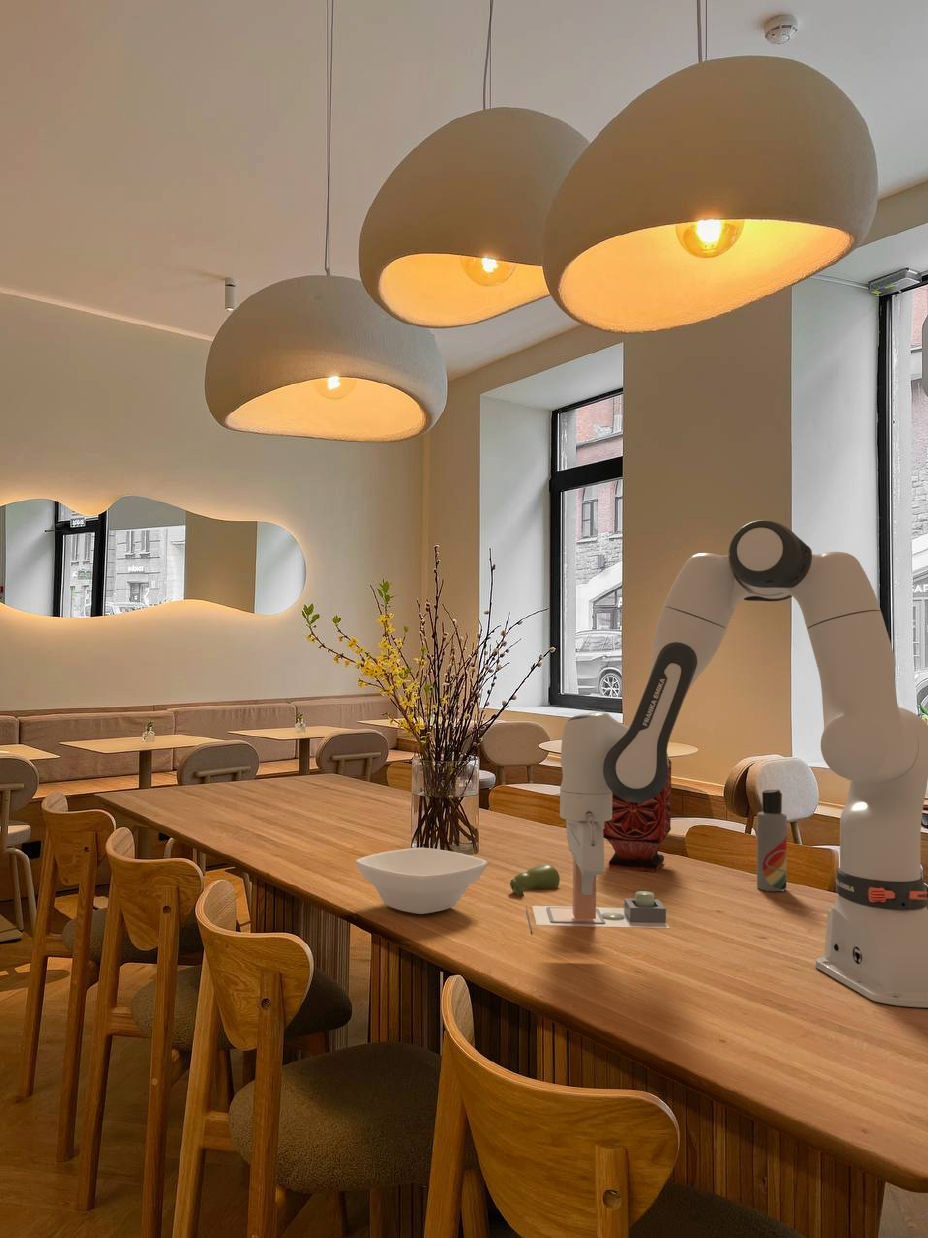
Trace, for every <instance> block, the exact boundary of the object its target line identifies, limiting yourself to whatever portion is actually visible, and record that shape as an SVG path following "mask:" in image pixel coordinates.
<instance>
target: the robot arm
mask: <svg viewBox="0 0 928 1238" xmlns="http://www.w3.org/2000/svg"><path fill="white" fill-rule="evenodd" d="M673 581H674V582H673V583H672V585H671V588H670V590H669V592H668V594H667V595H666V598H665V601H664V603H663V606H662V609H661V611H660V614H659V617H658V620H657V624H656V628H655V632H654V638H653V643H652V644H653V645H652V653H651V665H650V672H649V677H648V679H647V680H648V681H647V684H646V686H645V688H644V691H643V694H642V696H641V698H640V701H639V703H638V706H637V709H636V711H635V714H634V716H633V720H632V722H631V724H630V726H627V725H625V724H623V723H622V722H620V721H618V720H617V719H615V718H613V717H612V716H611V714H609V713H608V712H603V711H598V712H597V711H596V712H588V713H583V714H578V715H574V716H572V717H571V718H569V719H567V722H565V724H564V727H563V731H562V737H561V746H560V747H561V748H560V750H561V751H560V766H561V771H562V781H561V784H560V789H559V790H560V792H559V793H560V794H559V797H560V798H559V817H560V818H561V819H563V820H565V823H566V824H565V825H566V836H567V837H566V838H567V839H566V840H567V846H568V850H569V852H570V853H571V856H572V857H573V856H574V858H575V860H576V864H577V865H578V867H579V869H580V871H581V892H582V894H583V895H591V894H592V889H593V880H594V875H596V876H602V875H603V873H604V868H605V842H604V840H605V838H604V837H603V829H604V821H609V820H611V819H612V792H613V793H614V794H615V795H616V796H618V797H619V798H621V799H623V800H625V801H629V802H635V803H639V802H645V801H648V800H651V799H653V798H654V797H656V796H657V795H658V794H659V793H660V792H661V791H662V789H663V788H664V786H665V784H666V781H667V777H668V765H669V760H670V759H669V755H668V745H669V741H670V739H671V736H672V734H673V730H674V727H675V724H676V721H677V719H678V716H679V714H680V712H681V709H682V707H683V704H684V700H685V698H686V697H687V694H688V692H689V691H690V689H691V687H692V685H694V683H695V682H696V680H698V678H699V677H700V676H701V674H703V672H704V671H705V670H706V669H707V667H708V666H709V664H710V663H711V661H712V660H713V659H714V656H715V655H716V654H717V652H718V649H719V647H720V646H721V645H722V642H723V639H724V637H725V635H726V632H727V629H728V627H729V624H730V622H731V619H732V617H733V614H734V611H735V609H736V608H737V606H738V605H739V604H740V602H741V601H743V600H744V601H747V602H748V601H750V602H756V601H757V602H781V601H785V600H788V599H790V598H792V597H793V599H795V600H796V602H797V603H798V605H799V608H800V609H801V613H802V616H803V620H804V623H805V627H806V630H807V634H808V637H809V642H810V645H811V648H812V652H813V656H814V660H815V662H816V667H817V670H818V675H819V681H820V687H821V689H820V690H821V701H822V716H823V727H824V728H823V731H822V735H821V739H820V751H821V755H822V758H823V760H824V762H825V764H826V765H827V767H828V768H829V769H830V770H831V771H832V772H834V773H835V774H836V775H838V776H839V777H841V778H844V779H846V780H849V781H850V783H849V788H848V793H847V798H846V801H845V805H844V807H843V809H842V812H841V814H840V818H839V868H837V870H836V877H835V884H836V890H835V891H836V894H837V895H838V897H837V898H836V901H835V903H834V904H833V906H831V908H829V910H828V911H827V915H826V916H827V917H826V927H825V941H824V955H823V956H821V957H817V958H816V960H815V967H816V969H818V970H819V971H822V973H825V974H826V975H828V976H830V977H832V978H833V979H835V980H837V981H838V982H839V983H842V984H843V985H845V986H847V987H848V988H851V989H853V990H854V991H856V993H857V992H858V993H859V994H860V995H863V996H864V997H865V998H867V999H869V1000H871V1001H873V1002H877V1003H882V1004H887V1005H894V1006H898V1007H899V1006H900V1007H901V1006H902V1007H912V1008H928V896H927V895H928V891H927V887H926V886H925V880H924V878H923V877H922V876H921V873H922V872H921V868H922V867H921V866H922V865H921V863H922V862H921V858H922V857H921V852H922V851H921V849H922V847H921V846H922V845H921V844H922V843H921V842H922V841H921V840H922V836H921V833H922V831H921V829H922V819H923V810H924V806H925V800H926V795H927V794H926V793H927V788H928V723H927V721H925V720H924V719H923V718H922V717H920V716H919V715H918V714H916V713H915V712H913V711H911V710H909V709H906V708H903V707H900V706H899V704H898V697H897V691H896V682H895V681H896V679H895V678H896V677H895V673H896V672H895V669H896V666H897V665H896V663H897V662H896V657H895V653H894V650H893V647H892V643H891V639H890V637H889V633H888V631H887V627H886V624H885V620H884V616H883V614H882V611H881V608H880V604H879V602H878V601H879V600H878V598H877V596H876V594H875V591H874V588H873V585H872V584H871V581H870V579H869V578H868V575H867V573H866V571H865V570H864V568H863V566H862V564H861V563H860V561H859V560H858V558H856V557H855V556H854V555H852V554H850V553H848V552H844V551H843V552H842V551H829V552H828V551H827V552H823V553H818V554H813V551H812V549H811V547H810V546H809V545H808V544H806V542H804V541H803V540H802V539H801V538H800V537H798V536H797V534H796V533H795V532H793V531H792V530H791V529H790V528H788V527H787V526H786V525H783V524H782V523H779V522H777V521H775V520H774V521H773V520H769V519H760V520H755V521H751V522H749V523H747V524H745V525H744V526H742V527H740V529H738V530H737V531H736V533H735V534H734V536H733V537H732V539H731V541H730V543H729V547H728V555H720V554H716V553H712V552H711V553H710V552H702V553H696V554H694V555H692V556H690V557H689V558H688V559H687V560H686V562H685V563H684V564H683V566H682V567H681V569H680V571H679V573H678V574H677V576H676V578H675V579H674V580H673Z"/></svg>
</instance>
